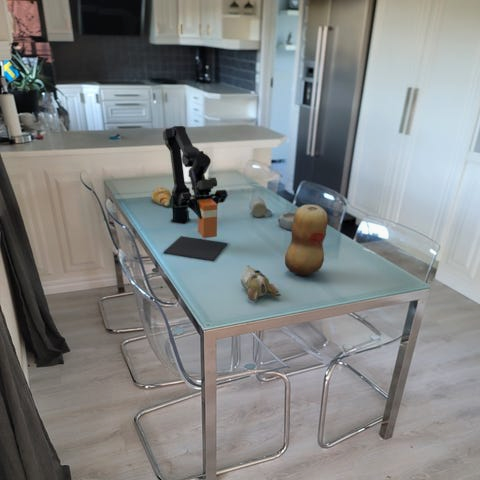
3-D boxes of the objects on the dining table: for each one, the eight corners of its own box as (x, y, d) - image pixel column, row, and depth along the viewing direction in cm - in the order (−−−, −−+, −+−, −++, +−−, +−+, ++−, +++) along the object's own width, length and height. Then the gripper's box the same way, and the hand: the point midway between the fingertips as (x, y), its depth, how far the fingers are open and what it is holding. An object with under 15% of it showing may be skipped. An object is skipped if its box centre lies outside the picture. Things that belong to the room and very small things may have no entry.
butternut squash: (295, 284, 163) (303, 214, 150) (277, 269, 173) (283, 202, 160) (329, 279, 168) (339, 211, 155) (309, 264, 178) (318, 199, 166)
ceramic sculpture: (261, 258, 159) (284, 279, 148) (259, 281, 164) (281, 302, 153) (233, 263, 155) (254, 285, 144) (232, 286, 160) (252, 309, 149)
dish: (316, 227, 214) (317, 216, 212) (297, 234, 205) (298, 223, 203) (290, 218, 223) (291, 208, 220) (272, 225, 214) (273, 214, 211)
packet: (197, 231, 186) (197, 200, 179) (211, 230, 188) (211, 198, 181) (203, 238, 181) (203, 206, 174) (216, 236, 183) (217, 204, 176)
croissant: (174, 214, 231) (181, 199, 229) (156, 206, 225) (163, 191, 223) (160, 200, 247) (166, 186, 245) (143, 193, 241) (149, 179, 238)
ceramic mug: (251, 218, 221) (252, 202, 217) (248, 212, 228) (249, 196, 224) (273, 218, 222) (275, 202, 218) (269, 212, 229) (271, 197, 225)
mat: (163, 253, 181) (163, 251, 181) (181, 237, 196) (181, 236, 196) (212, 261, 177) (212, 259, 177) (227, 244, 192) (227, 242, 192)
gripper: (179, 171, 172) (189, 210, 169) (226, 168, 179) (237, 205, 176) (173, 187, 182) (183, 224, 179) (218, 183, 189) (228, 219, 186)
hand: (208, 217), depth 180 cm, fingers closed on packet, 5 cm apart
